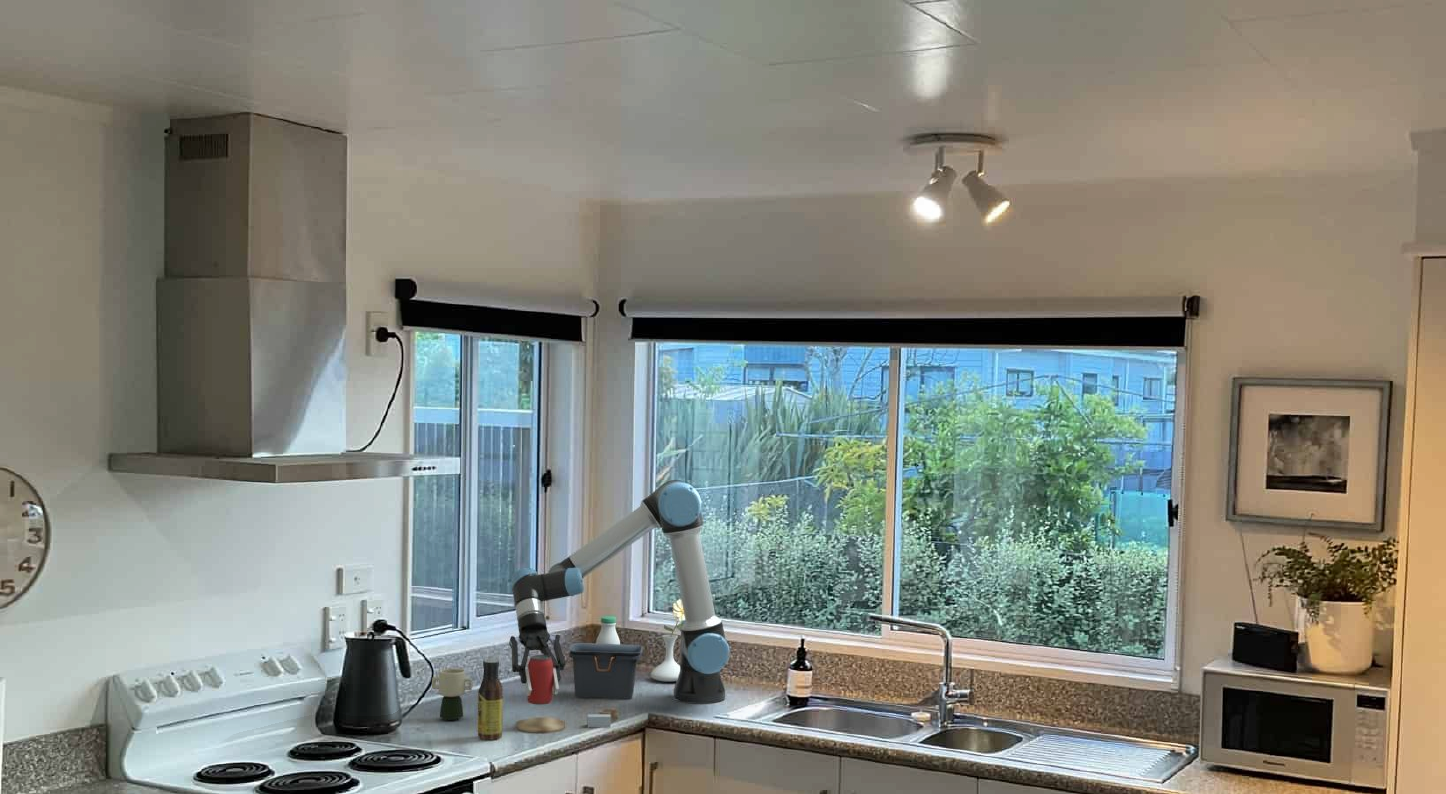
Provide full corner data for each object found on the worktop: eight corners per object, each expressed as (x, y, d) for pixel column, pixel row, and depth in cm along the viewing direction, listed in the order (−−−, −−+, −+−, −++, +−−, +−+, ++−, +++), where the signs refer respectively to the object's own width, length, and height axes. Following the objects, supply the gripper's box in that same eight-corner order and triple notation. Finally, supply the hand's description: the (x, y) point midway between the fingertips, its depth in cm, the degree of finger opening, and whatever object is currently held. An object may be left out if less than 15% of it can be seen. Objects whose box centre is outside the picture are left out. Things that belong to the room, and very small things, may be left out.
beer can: (547, 705, 358) (548, 659, 358) (523, 703, 360) (524, 658, 360) (555, 700, 365) (556, 655, 365) (531, 698, 366) (533, 653, 366)
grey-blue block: (609, 725, 366) (610, 714, 366) (610, 727, 363) (610, 716, 363) (587, 725, 366) (587, 714, 366) (587, 728, 363) (588, 716, 363)
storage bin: (642, 691, 408) (643, 643, 408) (640, 703, 393) (641, 653, 393) (570, 690, 408) (571, 642, 408) (565, 702, 392) (566, 651, 392)
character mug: (474, 716, 372) (475, 668, 372) (468, 722, 365) (469, 673, 365) (434, 715, 373) (435, 667, 373) (427, 721, 366) (428, 672, 366)
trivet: (559, 719, 370) (559, 716, 370) (570, 731, 358) (570, 727, 358) (511, 722, 366) (511, 719, 366) (521, 734, 354) (521, 730, 354)
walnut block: (607, 718, 374) (608, 707, 374) (618, 719, 373) (618, 708, 373) (598, 723, 368) (598, 712, 368) (608, 724, 367) (609, 713, 367)
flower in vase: (657, 685, 417) (658, 602, 417) (645, 677, 428) (647, 597, 428) (697, 682, 422) (699, 601, 422) (685, 675, 433) (686, 596, 433)
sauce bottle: (480, 734, 353) (481, 657, 353) (504, 735, 353) (505, 657, 353) (474, 740, 346) (476, 662, 346) (499, 741, 346) (501, 662, 346)
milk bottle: (594, 679, 423) (595, 614, 423) (619, 679, 424) (620, 614, 424) (594, 685, 416) (596, 618, 416) (620, 684, 417) (621, 619, 417)
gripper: (563, 626, 380) (576, 698, 365) (493, 628, 373) (503, 701, 358) (568, 610, 375) (582, 682, 360) (497, 612, 368) (508, 685, 353)
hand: (543, 691), depth 359 cm, fingers closed on beer can, 6 cm apart
